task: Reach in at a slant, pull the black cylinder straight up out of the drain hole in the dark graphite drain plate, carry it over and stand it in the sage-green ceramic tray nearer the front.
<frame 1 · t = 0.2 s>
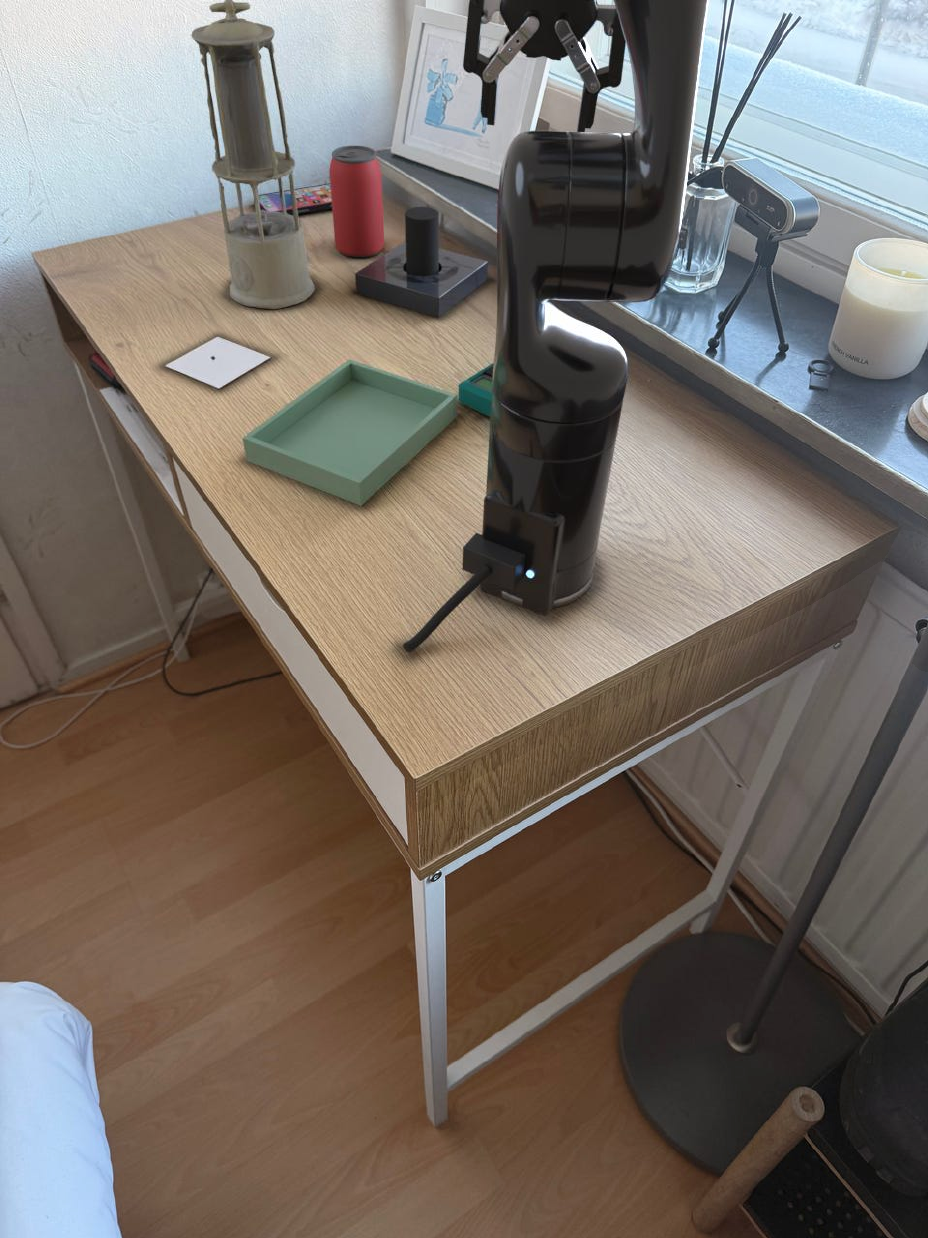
hand: (536, 126, 82), 23 cm above the table, tool pointing down, fingers open, 8 cm apart
smartphone: (309, 203, 127), on the table
coaster: (218, 363, 95), on the table
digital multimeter: (523, 391, 93), on the table
beer can: (360, 250, 117), on the table
drain plate: (422, 286, 109), on the table
black cylinder: (422, 250, 106), in the hole of the drain plate
basin tray: (355, 438, 86), on the table
lamp: (271, 286, 109), on the table
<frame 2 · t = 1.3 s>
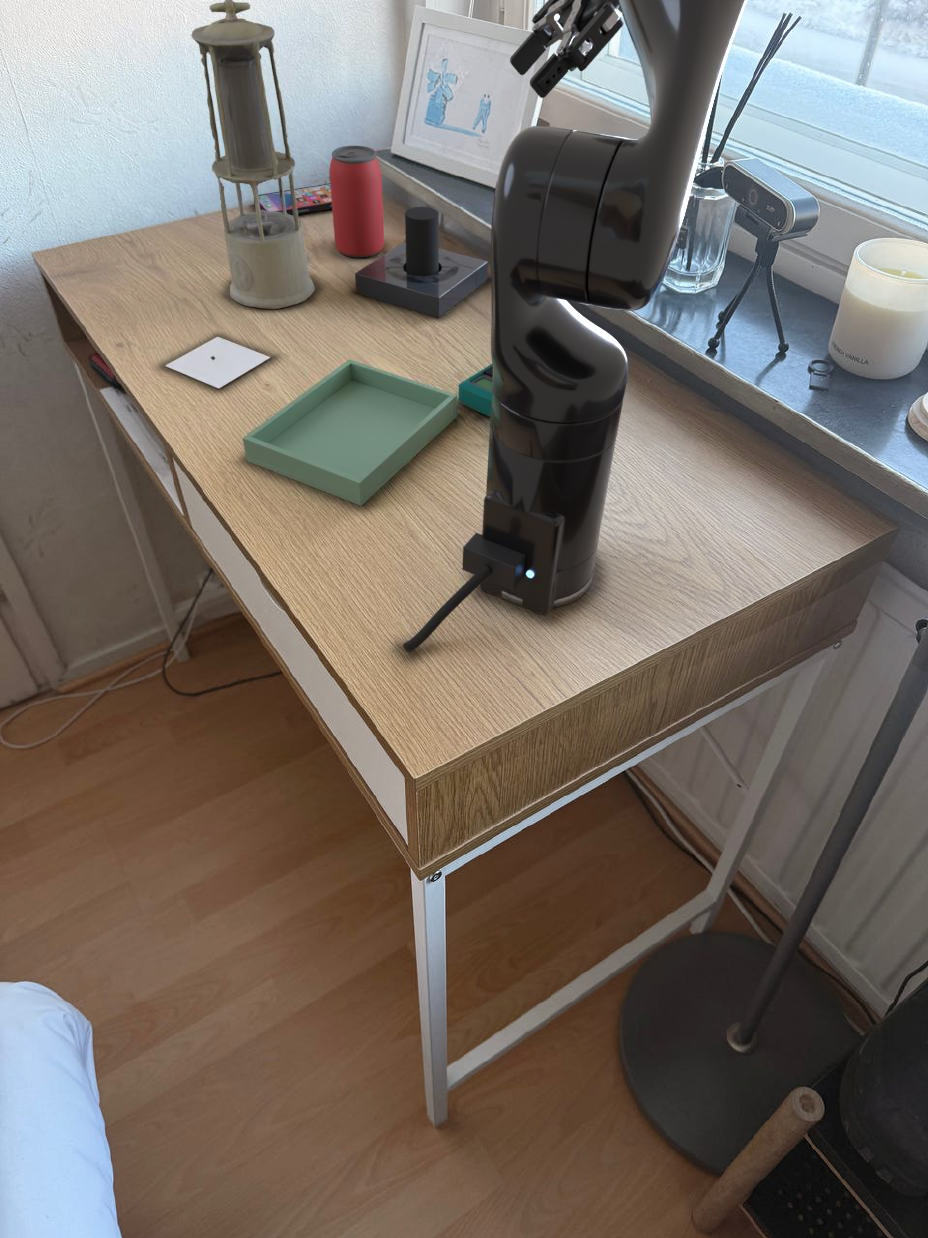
hand: (524, 79, 95), 23 cm above the table, tool tilted 45°, fingers open, 8 cm apart
nothing on the table moved.
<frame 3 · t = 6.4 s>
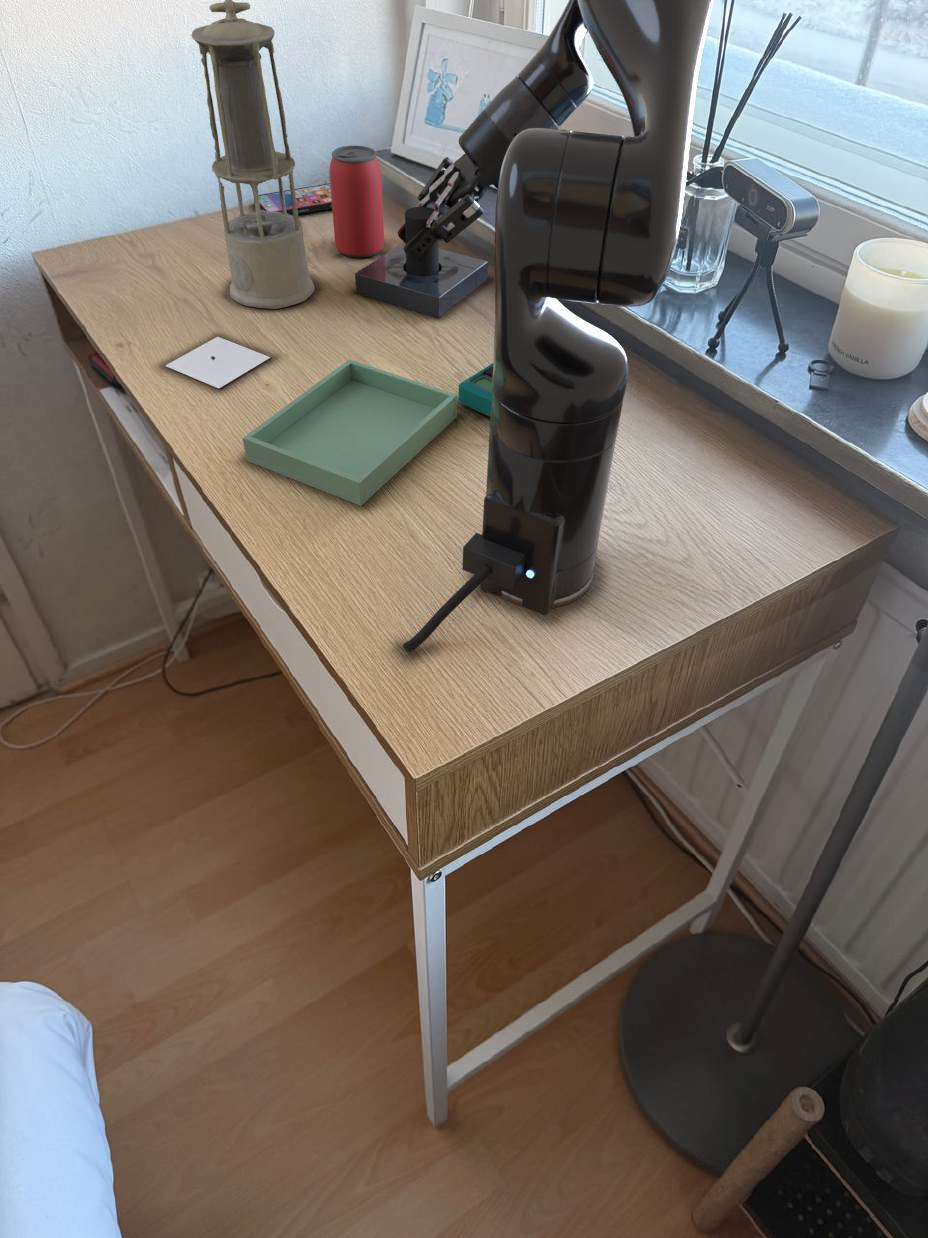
hand: (406, 247, 105), 5 cm above the table, tool tilted 45°, fingers closed on black cylinder, 4 cm apart
black cylinder: (422, 250, 106), in the hole of the drain plate, touching gripper
everything else where it was.
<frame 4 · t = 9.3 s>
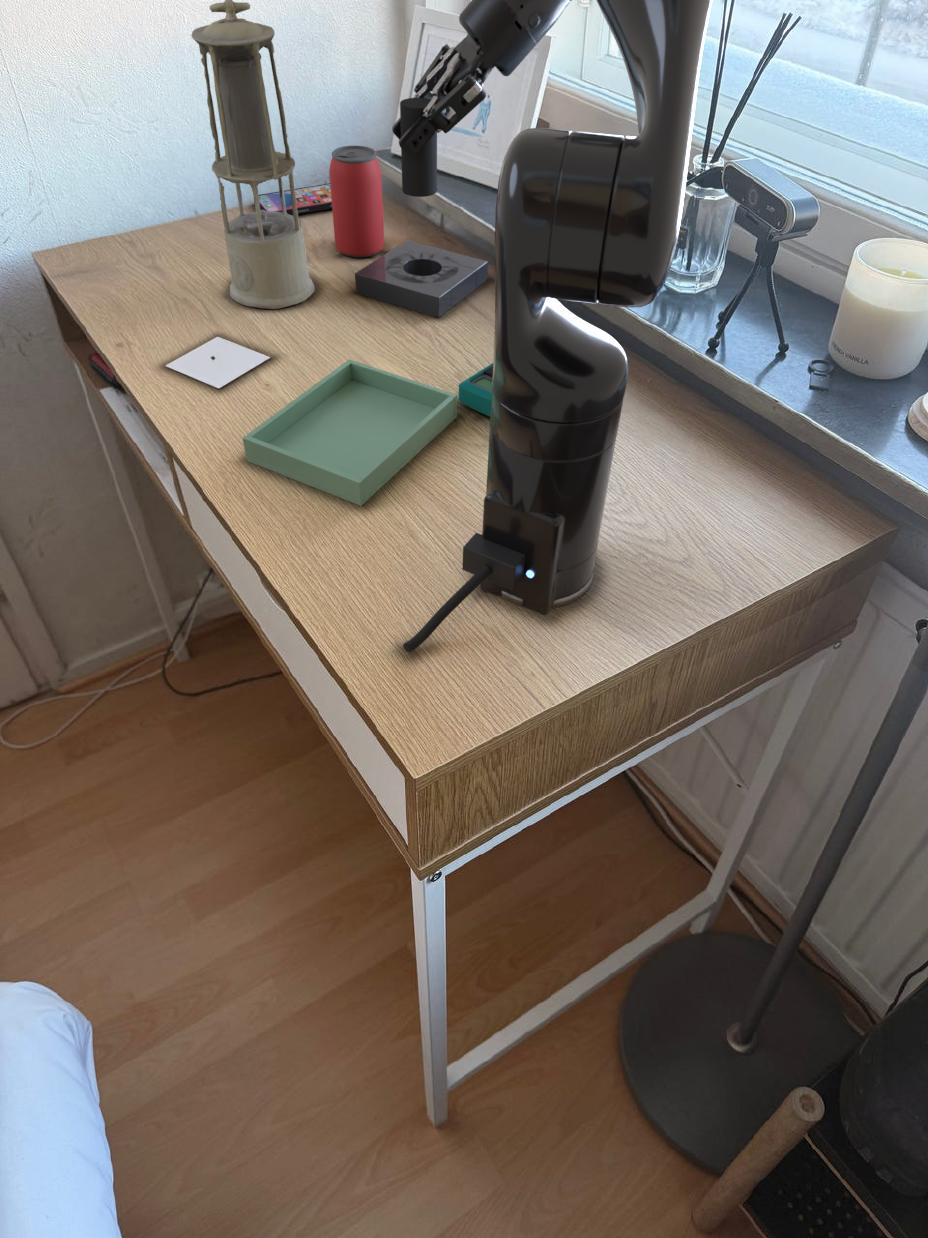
hand: (401, 143, 96), 17 cm above the table, tool tilted 45°, fingers closed on black cylinder, 4 cm apart
black cylinder: (419, 147, 97), point 16 cm above the table, touching gripper
everything else where it was.
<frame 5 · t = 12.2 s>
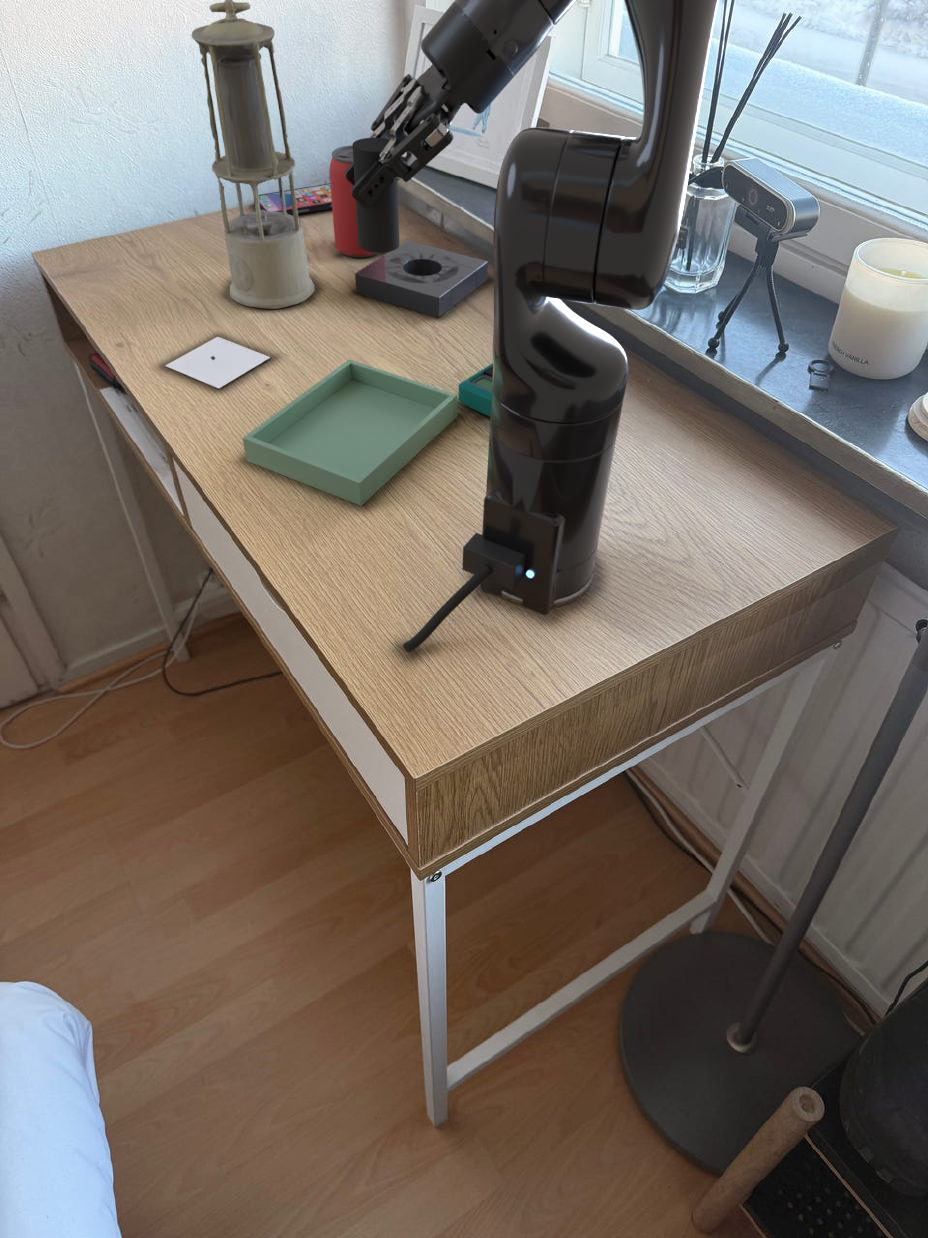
hand: (355, 191, 81), 19 cm above the table, tool tilted 45°, fingers closed on black cylinder, 4 cm apart
black cylinder: (376, 196, 82), point 18 cm above the table, touching gripper
everything else where it was.
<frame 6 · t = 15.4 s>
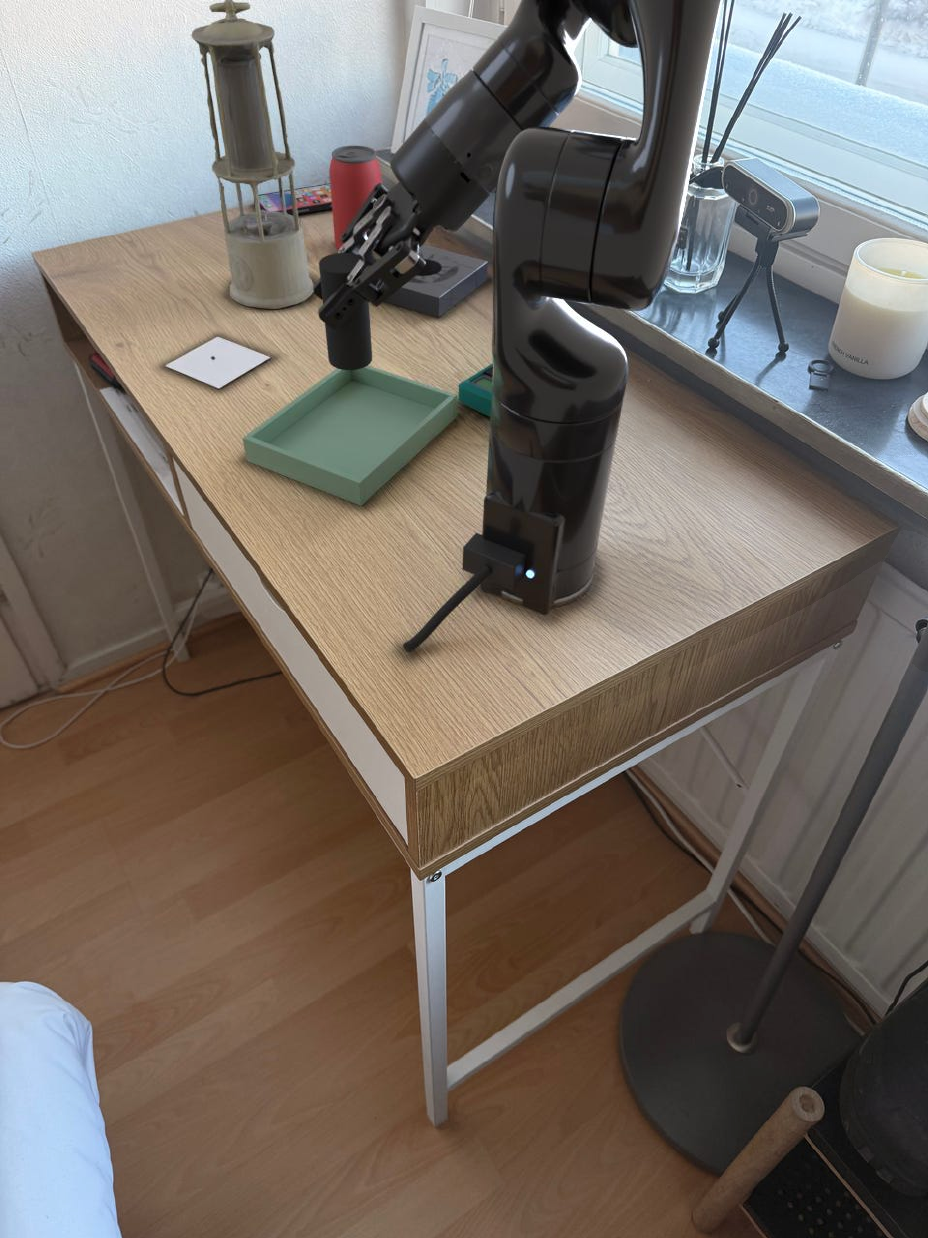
hand: (324, 309, 76), 13 cm above the table, tool tilted 45°, fingers closed on black cylinder, 4 cm apart
black cylinder: (346, 312, 76), point 13 cm above the table, touching gripper
everything else where it was.
when the fingers open (6 cm above the table, at t = 17.9 s): black cylinder stays where it is, resting on basin tray.
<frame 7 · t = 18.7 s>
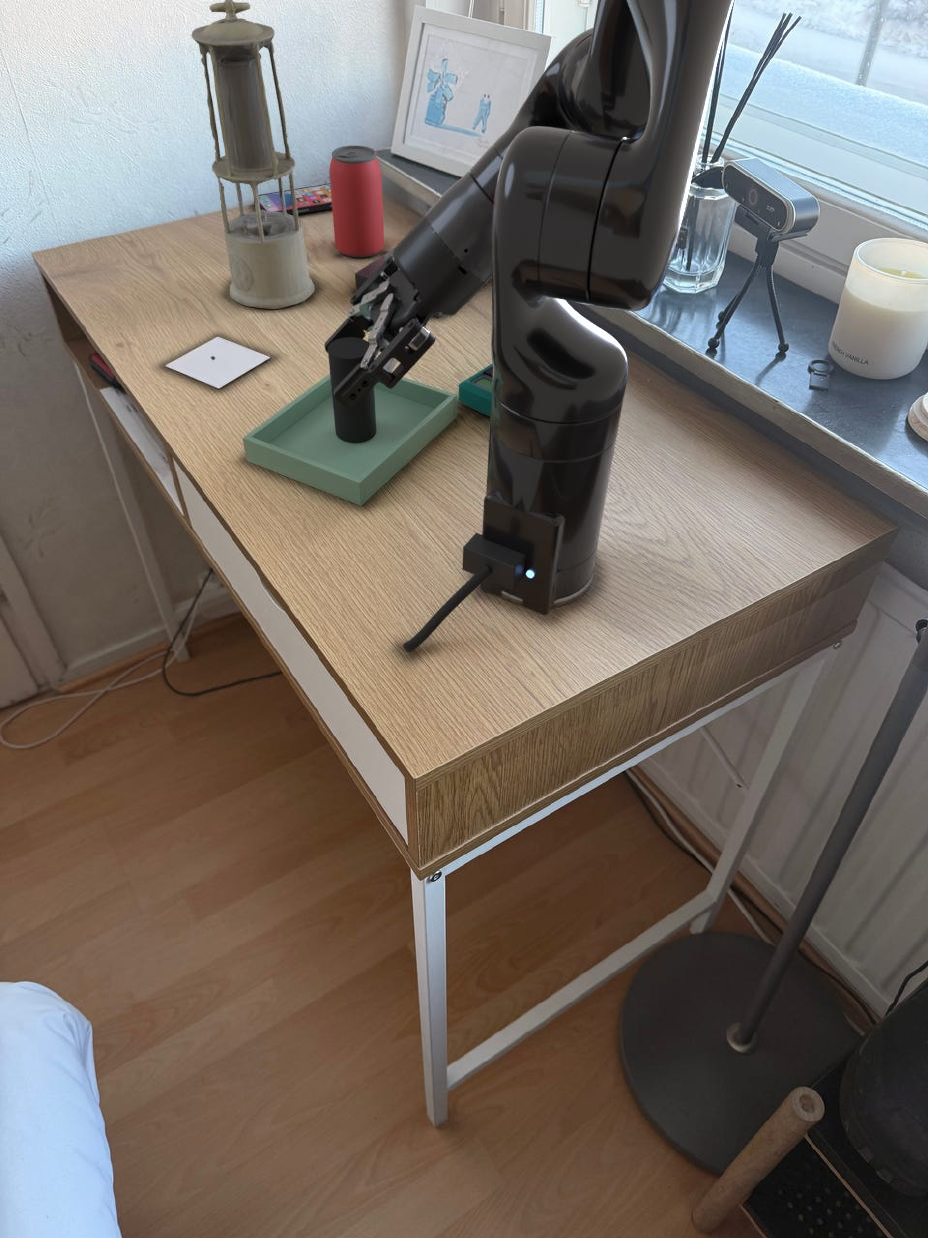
hand: (336, 377, 80), 7 cm above the table, tool tilted 45°, fingers open, 8 cm apart
black cylinder: (353, 391, 82), in the basin tray, point 5 cm above the table
everything else where it was.
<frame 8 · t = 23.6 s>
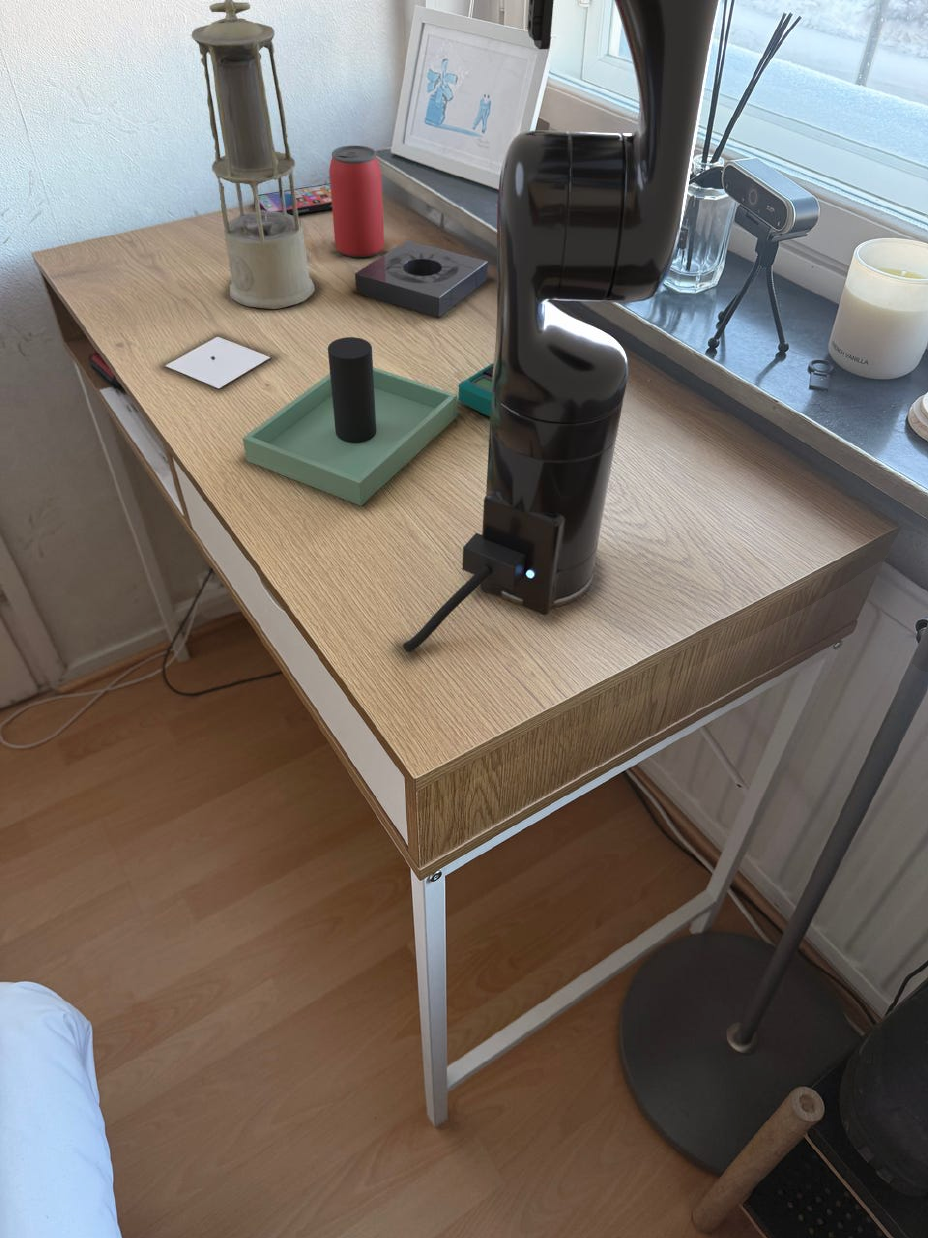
hand: (594, 45, 68), 32 cm above the table, tool pointing down, fingers open, 8 cm apart
nothing on the table moved.
at the end: black cylinder inside the target area in the basin tray (0.2 cm from its centre), point 5.1 cm above the basin tray's base; the gripper is holding nothing; black cylinder tilted 0° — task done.
